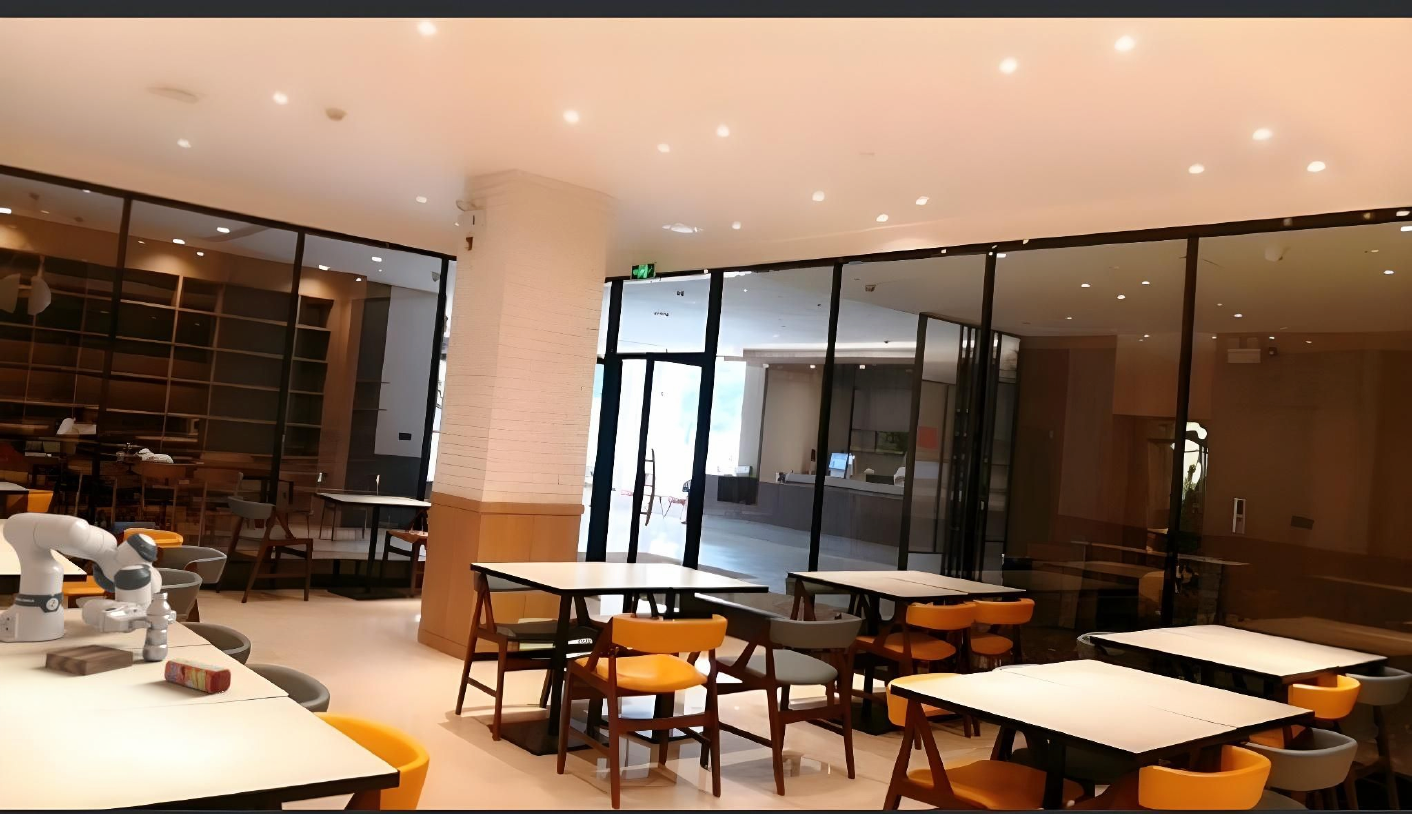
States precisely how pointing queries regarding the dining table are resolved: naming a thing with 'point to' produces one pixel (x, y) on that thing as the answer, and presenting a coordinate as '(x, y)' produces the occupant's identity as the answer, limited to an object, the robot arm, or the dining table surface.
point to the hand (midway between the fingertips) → (160, 623)
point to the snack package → (198, 675)
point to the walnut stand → (89, 659)
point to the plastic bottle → (157, 628)
